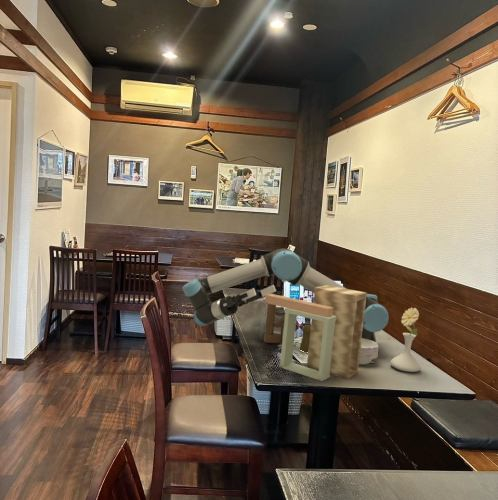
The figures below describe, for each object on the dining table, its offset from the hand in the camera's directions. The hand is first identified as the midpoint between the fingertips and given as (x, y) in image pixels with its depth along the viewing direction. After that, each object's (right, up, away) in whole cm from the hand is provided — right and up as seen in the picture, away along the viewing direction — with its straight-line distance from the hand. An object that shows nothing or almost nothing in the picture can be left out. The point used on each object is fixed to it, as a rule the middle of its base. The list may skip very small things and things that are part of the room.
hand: (265, 289), depth 171 cm
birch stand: (+25, -29, -4) cm, 39 cm away
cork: (+18, -27, +16) cm, 36 cm away
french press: (+9, -24, +42) cm, 49 cm away
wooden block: (+6, -25, +24) cm, 35 cm away
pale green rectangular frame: (+14, -29, -9) cm, 33 cm away
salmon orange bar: (+11, -6, -8) cm, 15 cm away
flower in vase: (+55, -31, +3) cm, 63 cm away
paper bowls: (+37, -29, +9) cm, 48 cm away
